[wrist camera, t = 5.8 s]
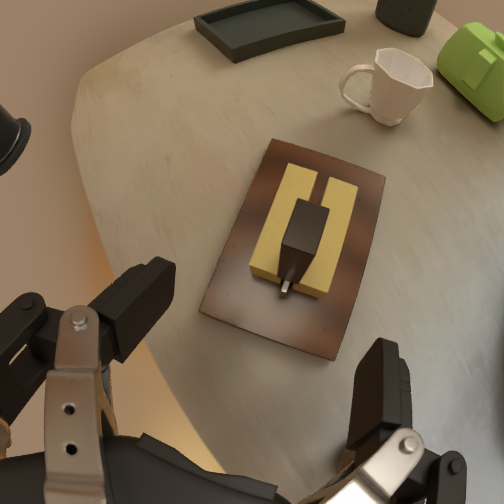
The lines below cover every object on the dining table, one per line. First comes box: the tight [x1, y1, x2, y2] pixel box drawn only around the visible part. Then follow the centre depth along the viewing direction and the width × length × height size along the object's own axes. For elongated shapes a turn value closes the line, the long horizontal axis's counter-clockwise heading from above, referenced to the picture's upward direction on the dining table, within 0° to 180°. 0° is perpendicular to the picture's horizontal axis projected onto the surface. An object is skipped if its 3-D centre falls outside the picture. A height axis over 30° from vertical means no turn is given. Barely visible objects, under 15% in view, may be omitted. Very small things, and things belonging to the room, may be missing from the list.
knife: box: [277, 198, 330, 299], centre depth 18 cm, size 4×2×12 cm, turn 159°
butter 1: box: [249, 163, 318, 284], centre depth 23 cm, size 9×2×4 cm, turn 159°
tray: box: [193, 0, 346, 63], centre depth 34 cm, size 20×14×3 cm
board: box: [199, 138, 386, 361], centre depth 25 cm, size 18×12×1 cm, turn 159°
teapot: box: [437, 22, 504, 122], centre depth 24 cm, size 18×20×13 cm
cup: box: [339, 48, 433, 127], centre depth 26 cm, size 7×10×8 cm
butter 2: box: [292, 177, 358, 298], centre depth 23 cm, size 9×2×4 cm, turn 159°
